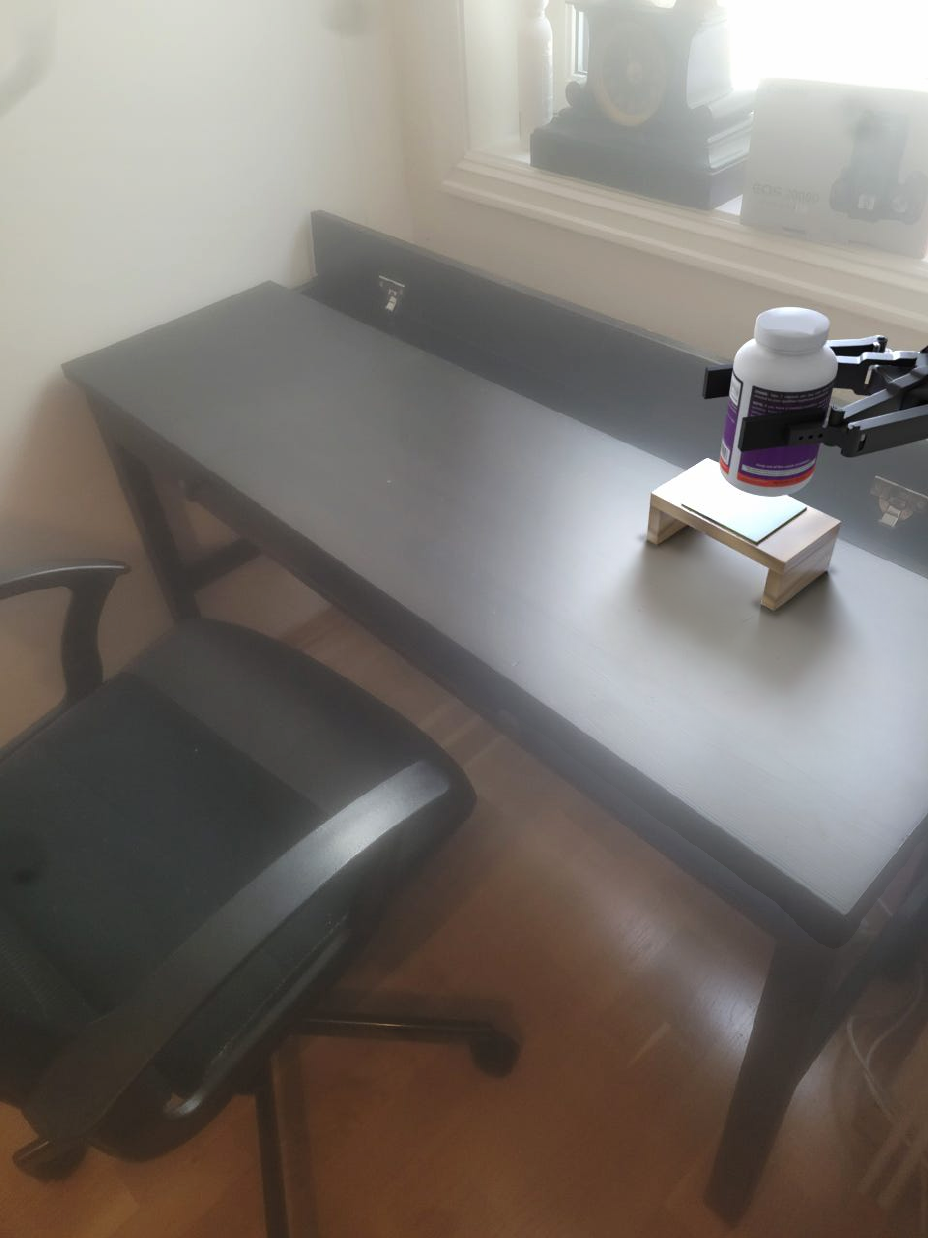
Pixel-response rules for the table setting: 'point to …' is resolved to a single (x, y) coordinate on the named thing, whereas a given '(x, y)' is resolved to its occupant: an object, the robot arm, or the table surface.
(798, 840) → the table surface
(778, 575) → the shelf
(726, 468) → the pill bottle
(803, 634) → the table surface
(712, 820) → the table surface
